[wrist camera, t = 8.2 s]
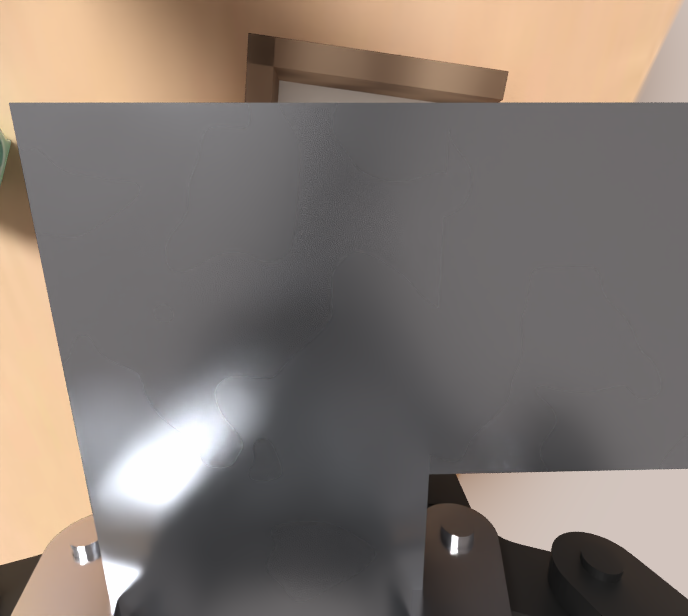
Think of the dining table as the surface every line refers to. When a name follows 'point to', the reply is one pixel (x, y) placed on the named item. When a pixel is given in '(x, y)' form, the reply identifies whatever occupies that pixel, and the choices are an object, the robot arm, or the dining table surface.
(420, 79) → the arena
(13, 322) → the dining table surface
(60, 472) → the dining table surface
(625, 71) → the dining table surface
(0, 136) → the mint green cone
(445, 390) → the bracket
